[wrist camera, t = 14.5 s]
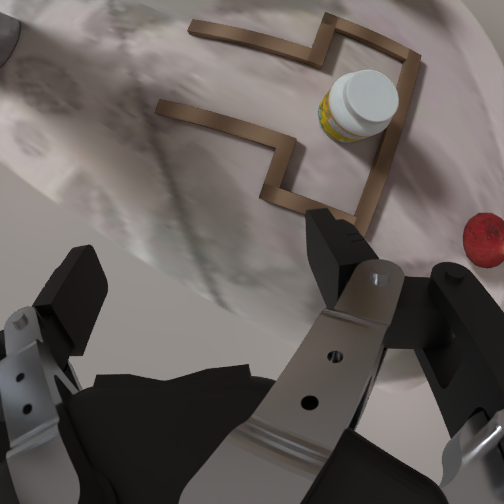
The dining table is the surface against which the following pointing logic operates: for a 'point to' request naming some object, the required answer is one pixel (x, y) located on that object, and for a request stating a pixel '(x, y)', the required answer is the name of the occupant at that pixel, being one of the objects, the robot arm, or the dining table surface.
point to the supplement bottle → (358, 106)
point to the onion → (484, 240)
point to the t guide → (286, 143)
